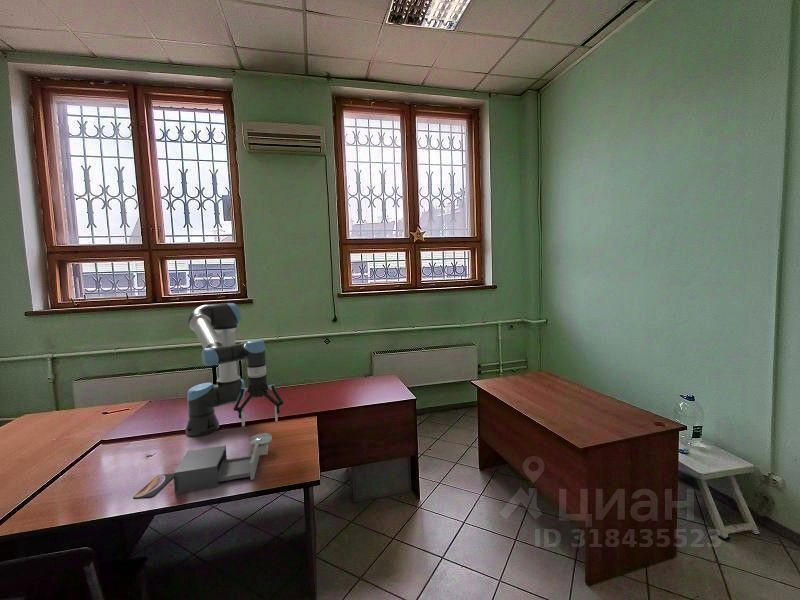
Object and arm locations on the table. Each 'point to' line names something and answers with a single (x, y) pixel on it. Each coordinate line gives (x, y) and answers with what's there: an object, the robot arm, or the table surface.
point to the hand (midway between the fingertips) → (260, 423)
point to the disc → (261, 439)
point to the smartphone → (154, 486)
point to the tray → (239, 467)
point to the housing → (199, 469)
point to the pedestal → (263, 449)
